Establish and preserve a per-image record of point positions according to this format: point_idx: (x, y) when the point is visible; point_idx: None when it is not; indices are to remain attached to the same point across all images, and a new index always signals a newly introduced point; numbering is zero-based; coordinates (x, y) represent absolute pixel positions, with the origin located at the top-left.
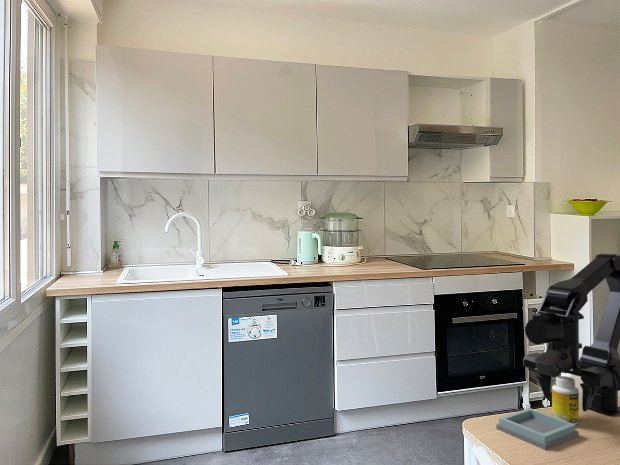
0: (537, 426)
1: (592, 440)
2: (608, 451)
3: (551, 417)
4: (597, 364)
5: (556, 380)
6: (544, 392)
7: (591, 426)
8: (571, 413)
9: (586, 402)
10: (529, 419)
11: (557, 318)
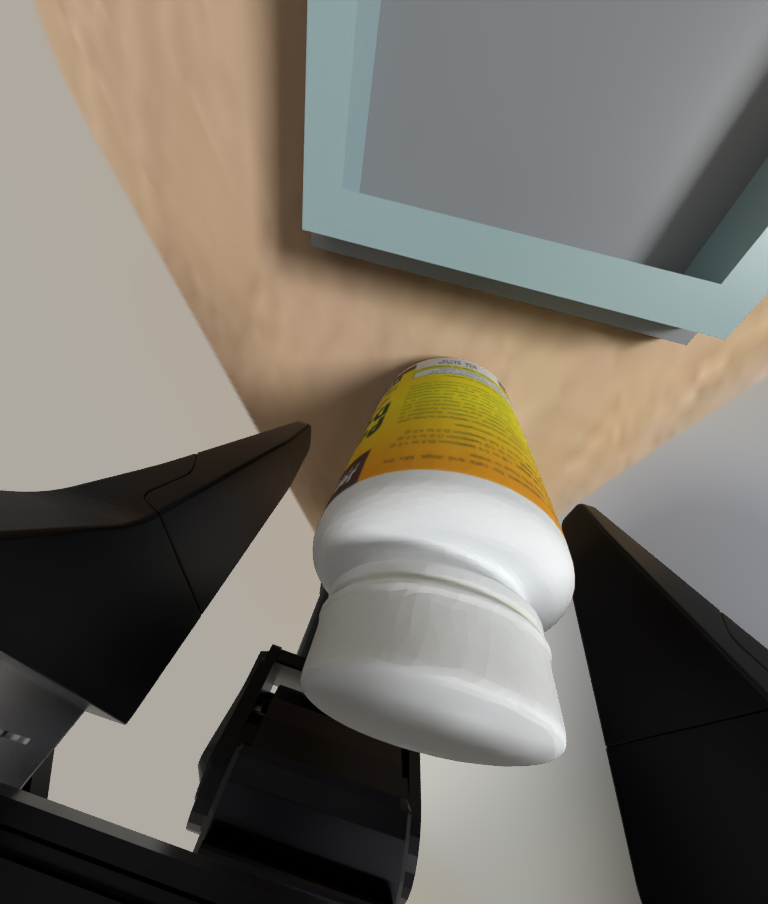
0: (620, 14)
1: (251, 247)
2: (118, 130)
3: (502, 238)
4: (253, 873)
5: (545, 680)
6: (622, 539)
7: (336, 432)
8: (385, 401)
9: (231, 443)
10: (703, 180)
11: None
